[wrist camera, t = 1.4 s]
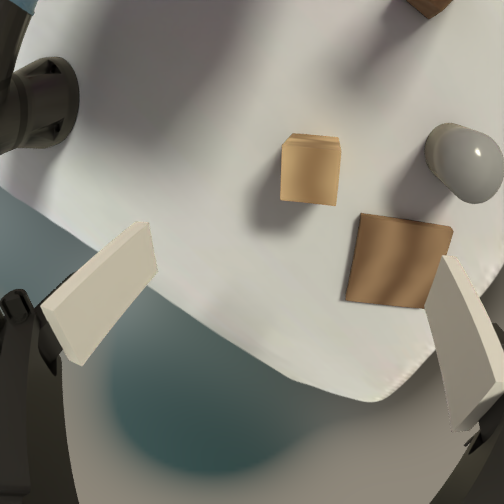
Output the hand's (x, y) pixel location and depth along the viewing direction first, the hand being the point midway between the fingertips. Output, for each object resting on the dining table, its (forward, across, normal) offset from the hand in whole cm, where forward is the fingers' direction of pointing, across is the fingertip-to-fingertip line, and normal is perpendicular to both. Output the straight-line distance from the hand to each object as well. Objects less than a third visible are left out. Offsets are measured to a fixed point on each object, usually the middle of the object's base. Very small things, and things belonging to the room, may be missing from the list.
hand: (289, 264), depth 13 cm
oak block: (+23, 0, 0) cm, 23 cm away
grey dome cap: (+23, +16, +3) cm, 28 cm away
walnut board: (+23, +12, -12) cm, 28 cm away
